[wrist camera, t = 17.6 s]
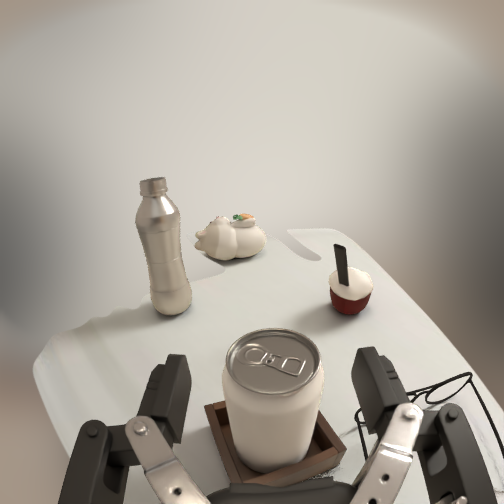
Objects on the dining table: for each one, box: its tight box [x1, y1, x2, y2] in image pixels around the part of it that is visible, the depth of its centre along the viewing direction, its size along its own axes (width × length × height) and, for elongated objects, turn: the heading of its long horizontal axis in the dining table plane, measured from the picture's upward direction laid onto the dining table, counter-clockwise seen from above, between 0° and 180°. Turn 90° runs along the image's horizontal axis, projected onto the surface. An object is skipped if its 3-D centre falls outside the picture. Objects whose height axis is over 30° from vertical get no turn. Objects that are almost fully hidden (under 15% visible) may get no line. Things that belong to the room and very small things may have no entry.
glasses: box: [354, 372, 504, 461], centre depth 14 cm, size 14×15×5 cm
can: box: [222, 328, 324, 474], centre depth 18 cm, size 6×6×12 cm
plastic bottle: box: [135, 177, 192, 315], centre depth 39 cm, size 6×7×20 cm
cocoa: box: [329, 244, 373, 315], centre depth 38 cm, size 10×6×12 cm, turn 113°
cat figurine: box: [195, 214, 266, 260], centre depth 58 cm, size 10×8×15 cm
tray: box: [204, 401, 347, 487], centre depth 20 cm, size 9×9×4 cm
